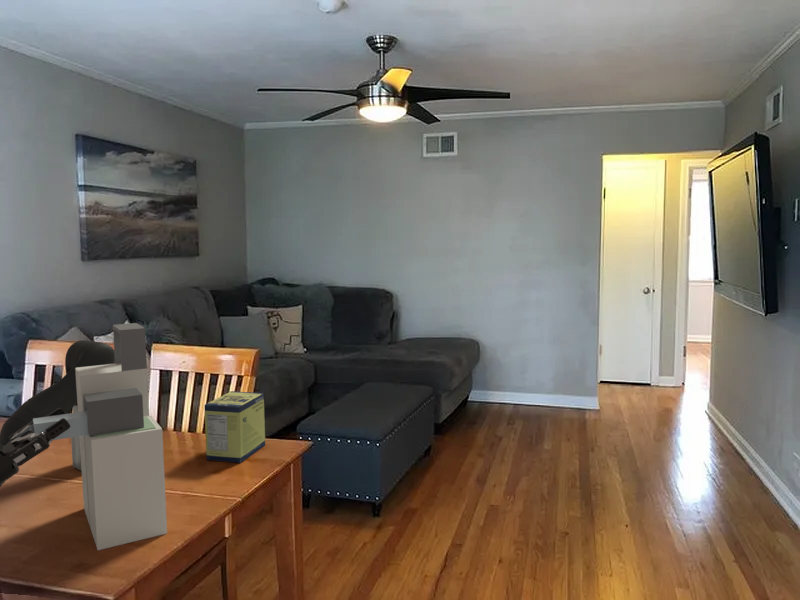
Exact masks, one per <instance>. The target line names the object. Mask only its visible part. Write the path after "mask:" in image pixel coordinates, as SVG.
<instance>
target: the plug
mask: <svg viewBox="0 0 800 600" xmlns="http://www.w3.org/2000/svg"><path fill="white" fill-rule="evenodd" d="M83 403H84V412H77V413H73V412H69V413H67V414H62V415H55V416H48V417H41V418H34V419H33V427H34V433H35V434H37V433H39V432H41V431H45V429H47V428H48V427H50V426H51V425H53V424H54V423H56V422H57V421H59V420H60V419H62V418H65V419H66V420H67V422H68V423H69V424H70V428H69V429H68V430H66V431H65V432H63V433H62V434H60V435H59V436H57V437H56V438H54V439H52V441H57V440H64V439H71V437H77V436H84V435H89V436H95V435H101V434H107V433H114V432H120V431H126V430H133V429H139V428H144V418H143V398H142V394H141V393H140V392H139V390H138V389H137V388H130V389H122V390H114V391H106V392H98V393H90V394H83ZM45 432H46V431H45Z"/></svg>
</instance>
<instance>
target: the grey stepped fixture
mask: <svg viewBox="0 0 800 600" xmlns="http://www.w3.org/2000/svg"><path fill="white" fill-rule="evenodd" d="M112 334H113V335H112V337H113V349H114V355H115V363H114V364H106V365H97V366H87V367H78V368H75V371H76V388H77V404H78V412H84V403H83V394H90V393H98V392H106V391H114V390H122V389H130V388H137V389H138V390H139V392H140V393H141V394H142V398H143V418H144V428H139V429H133V430H126V431H120V432H114V433H107V434H101V435H95V436H89V435H84V436H80V453H81V469H82V471H81V480H82V481H81V483H82V498H83V499H82V501H83V510H84V514H85V516H86V519H87V522H88V525H89V529H90V531H91V534H92V537H93V541H94V543H95V546H96V551H102V550H106V549H109V548H113V547H114V548H115V547H118V546H121V545H125V544H129V543H130V544H131V543H134V542H138V541H142V540H146V539H150V538H155V537H159V536H162V535H167V534H168V523H167V522H168V521H167V502H166V499H167V498H166V481H165V463H164V462H165V460H164V458H165V457H164V442H163V441H164V438H163V437H164V436H163V428H162V427H161V426H160V424H159V423H158V422H157V421H156V420H155V419H154V417H153V416H152V415H150V405H149V403H150V402H149V386H148V385H149V384H148V366H147V365H148V363H147V347H146V346H147V345H146V344H147V342H146V328H145V327H144V326H143V325H140V324H139V323H137V322H132V323H123V324H122V323H118V324H112Z"/></svg>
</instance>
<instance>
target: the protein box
mask: <svg viewBox="0 0 800 600" xmlns="http://www.w3.org/2000/svg"><path fill="white" fill-rule="evenodd" d="M264 396H265V394H264V392H253V391H251V392H249V391H248V392H247V391H236V390H235V391H233V390H232V391H229V392H227V393H225V394H223V395H221V396H218V397H217V398H215V399H213V400H211V401H209V402H207V403H205V404H204V406H203V407H204V424H205V425H204V427H205V428H204V429H205V430H204V431H205V449H206V450H205V451H206V454H205V455H206V460H207V461H210V460H215V461H214V462H223V461H227V462H226V463H234V462H237V463H236V464H242V463H243V462H245V459H246V460H247V459H248V458H251V456H252V455H253V454H255V453H257V452H258V451H259V450H261V449H263V447H265V446H266V426H265V423H266V421H265V420H266V419H265V399H264V398H265V397H264ZM242 461H243V462H242Z"/></svg>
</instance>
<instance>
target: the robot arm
mask: <svg viewBox="0 0 800 600" xmlns="http://www.w3.org/2000/svg"><path fill="white" fill-rule="evenodd" d="M64 359H65V361H64V364H65V365H64V366H65V375H64V376H63V377H61V378H60V379H59V380H58V381H57V382H55V383H53V384H52V385H51V386H48V387H46V388H45V389H43V390H41V391H39V392H38V393H36V394H34V395H33V396H32V397H30V398H28V399H27V400H26V401H24V402H23V403H22V404H21V405H20V406H18V407H17V409H16V410H15V411H14V412H13V413H12V414H11V415H10V416H9V417H8V418H7V419H6V420H5V421H4V423H3V425H2V426H1V429H0V488H1V487H2V486H3V484H4V483H5V482H6V481H8V480H9V479H11V478H12V477H13V476H15V475H17V474H18V473H19V472H20V471H19V470H20V468H19V467H22V466H23V465H24V464H26V463H27V462H29V461H30V460H32V459H33V458H35V457H36V456H38V455H39V454H41V453H42V452H44V451H46V450H47V449H48V448H50V446H51V445H50V444H51V443H53V440H52V439H54V438H56V437H57V436H59V435H60V434H62V433H63V432H65V431H66V430H68V429H69V428H70V424H69V423H68V422H67V420H66V419H65V418H62V419H60V420H59V421H57V422H56V423H54V424H53V425H51V426H50V427H48V428H47V429H45V431H46V432H45V431H41V432H39V433H37V434H35V433H34V427H33V419H34V418H41V417H48V416H55V415H62V414H69V413H70V411H71V410H72V413H77V412H78V404H77V388H76V371H75V368H78V367H87V366H97V365H106V364H115V355H114V347H113V346H111V345H109V344H107V343H104V342H99V341H94V340H89V339H88V340H86V339H84V340H77V341H75V342H74V343H72V344H71V345H70V346H69V347H68V349H67V351H66V354H65V358H64ZM70 442H71V445H70V446H71V457H72V458H71V460H72V468H74V469H77V470H78V471H81V472H82V469H81V453H80V436H77V437H71V438H70Z"/></svg>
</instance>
